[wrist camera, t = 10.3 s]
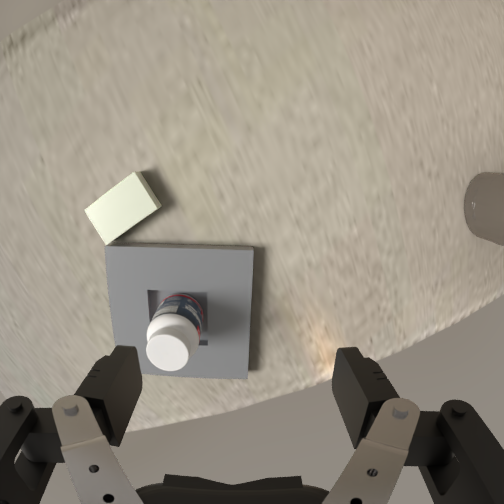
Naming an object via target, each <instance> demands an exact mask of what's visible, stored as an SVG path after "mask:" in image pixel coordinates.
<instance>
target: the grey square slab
mask: <svg viewBox="0 0 504 504" xmlns="http://www.w3.org/2000/svg"><path fill="white" fill-rule="evenodd" d="M253 255H254V250H253V246H222V245H187V244H149V243H109V244H108V245H106V246H105V260H106V273H107V284H108V294H109V303H110V311H111V319H112V326H113V333H114V340H115V346H117V345H125V346H135V347H136V349H137V352H138V358H139V364H140V369H141V374H150V375H162V376H176V377H193V378H217V379H248V359H249V339H250V318H251V297H252V276H253ZM177 293H181V294H186V295H189V296H191V297H193V298H194V299H195V300H196V301H197V302H198V303H199V304H200V306H201V308H202V310H203V316H204V317H203V324H202V329H201V335H200V341H199V345H198V348H197V350H196V352H195V353H194V355H193V356H191V357H190V358H189V359H188V362H187V364H186V365H185V366H184V367H183V368H181V369H179V370H176V371H165V370H162V369H159V368H158V367H156V366H155V365H153V364H152V363H151V361H150V360H149V358H148V356H147V353H146V347H147V343H148V341H147V329H148V326H149V324H150V322H151V320H152V318H153V316H154V314H155V312H156V311H157V309H158V307H159V305H160V303H161V302H162V301H163V300H164V299H165V298H166V297H167V296H169V295H172V294H177Z"/></svg>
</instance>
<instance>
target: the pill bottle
mask: <svg viewBox="0 0 504 504" xmlns="http://www.w3.org/2000/svg"><path fill="white" fill-rule="evenodd" d="M203 317H204V316H203V310H202V308H201V306H200V304H199V303H198V302H197V301H196V300H195V299H194V298H193V297H191V296H189V295H186V294H181V293H177V294H172V295H169V296H167V297H166V298H165V299H164V300H163V301H162V302H161V303H160V305H159V307H158V309H157V311H156V312H155V314H154V316H153V318H152V320H151V322H150V324H149V326H148V329H147V341H148V343H147V347H146V353H147V356H148V358H149V360H150V361H151V363H152V364H153V365H155V366H156V367H158V368H159V369H162V370H165V371H176V370H179V369H181V368H183V367H184V366H185V365H186V364H187V362H188V359H189V358H190V357H191V356H193V355H194V353H195V352H196V350H197V348H198V345H199V341H200V335H201V329H202V324H203Z"/></svg>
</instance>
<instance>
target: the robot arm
mask: <svg viewBox="0 0 504 504" xmlns="http://www.w3.org/2000/svg"><path fill="white" fill-rule="evenodd" d="M464 211H465V218H466V222H467V224H468V227H469V229H470V230H471V231H472V233H473V234H475V235H476V236H478V237H480V238H483V239H486V240H488V241H491V242H494V243H496V244H499V245H502V246H504V174H499V173H489V172H485V173H481V174H478V175H477V176H476V177H475V178H474V179H473V180H472V181H471V183H470V185H469V187H468V189H467V192H466V196H465V204H464ZM141 391H142V375H141V369H140V364H139V358H138V352H137V349H136V347H135V346H125V345H117V346H116V347H115V349H114V350H113V352H112V353H111V355H110V356H106V355H105V356H104V357H102V358H101V359H99V360H98V361H96V363H95V364H94V366H93V367H92V369H91V370H90V372H89V373H88V375H87V376H86V378H85V379H84V380H83V382H82V383H81V385H80V386H79V388H78V389H77V391H76V392H75V394H74V395H69V396H65V397H62V398H60V399H58V400H57V401H56V402H55V403H54V404H53V407H52V408H34V406H33V404H32V401H31V400H30V399H29V398H27V397H24V396H14V397H11V398H9V399H7V400H6V401H4V402H3V404H2V405H1V406H0V504H39V503H40V501H41V498H42V496H43V494H44V491H45V489H46V486H47V484H48V481H49V479H50V477H51V475H52V472H53V469H54V468H55V465H56V463H66V466H67V469H68V471H69V474H70V477H71V480H72V482H73V485H74V487H75V490H76V492H77V495H78V497H79V499H80V502H81V504H387V503H388V501H389V499H390V496H391V494H392V492H393V490H394V487H395V485H396V483H397V480H398V478H399V475H400V473H401V470H402V468H403V466H418V467H419V469H420V472H421V474H422V476H423V479H424V481H425V483H426V485H427V488H428V490H429V493H430V495H431V497H432V499H433V502H434V504H504V449H503V448H502V447H501V445H500V444H499V442H498V441H497V440H496V438H495V437H494V435H493V434H492V433H491V431H490V430H489V428H488V427H487V426H486V424H485V423H484V422H483V420H482V419H481V418H480V416H479V415H478V413H477V412H476V411H475V410H474V408H473V407H472V406H471V405H470V404H468V403H467V402H464V401H461V400H449V401H447V402H445V403H444V404H443V405H442V407H441V410H440V412H435V411H420V410H419V407H418V406H417V405H416V404H415V403H414V402H412V401H410V400H408V399H404V398H400V397H399V395H398V394H397V392H396V391H395V389H394V387H393V386H392V384H391V383H390V381H389V380H388V379H387V377H386V375H385V374H384V373H383V371H382V369H381V368H380V366H379V364H378V363H376V362H375V361H373V360H372V359H370V358H369V357H368V358H364V357H363V356H362V354H361V353H360V351H359V349H358V348H357V347H346V348H338V350H337V353H336V359H335V365H334V371H333V377H332V391H333V394H334V397H335V400H336V402H337V405H338V407H339V410H340V413H341V415H342V418H343V420H344V423H345V426H346V428H347V431H348V433H349V436H350V438H351V441H352V444H353V447H354V449H356V451H355V452H354V454H353V456H352V457H351V459H350V461H349V462H348V464H347V466H346V467H345V469H344V471H343V472H342V474H341V475H340V477H339V479H338V480H337V482H336V483H335V485H334V486H333V488H332V489H331V491H330V492H329V491H327V490H324V489H322V488H318V487H314V486H309V485H302V479H301V476H294V477H277V478H265V479H261V480H256V481H251V482H247V483H242V484H236V485H229V484H224V483H220V482H215V481H211V480H207V479H203V478H200V477H189V476H178V475H169V474H165V476H164V481H163V483H157V484H151V485H148V486H144V487H141V488H139V489H136V490H135V489H134V488H133V486H132V484H131V483H130V481H129V479H128V478H127V476H126V474H125V472H124V471H123V469H122V467H121V465H120V464H119V462H118V460H117V458H116V456H115V455H114V452H113V451H112V449H111V447H110V445H112V446H117V447H119V446H120V444H121V441H122V439H123V436H124V433H125V431H126V428H127V426H128V423H129V421H130V418H131V416H132V413H133V411H134V408H135V406H136V403H137V401H138V398H139V396H140V394H141ZM20 449H21V450H22V451H21V453H20V455H19V457H18V459H17V460H16V462H15V464H14V461H15V457H16V455H17V453H18V452H19V450H20ZM455 456H456V457H455ZM456 458H457V459H456Z"/></svg>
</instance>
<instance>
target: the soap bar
mask: <svg viewBox="0 0 504 504" xmlns="http://www.w3.org/2000/svg"><path fill="white" fill-rule="evenodd" d="M160 207H162V205H161V204H160V202H159V201H158V199H157V198H156V196H155V194H154V193H153V191H152V190H151V188H150V187H149V185H148V183H147V182H146V180H145V179H144V177H143V175H142V174H141V172H133V173H132V174H131V175H129V176H128V177H127V178H125V179H124V180H122V181H121V182H120V183H118V184H117V185H116V186H115V187H113V188H112V189H111V190H109V191H108V192H107V193H105V194H104V195H103V196H102V197H100V198H99V199H98V200H97V201H95V202H94V203H93V204H92V205H90V206H89V207H88V208H87V209H85V210H84V211H85V212H86V214H87V216H88V217H89V219H90V220H91V222H92V224H93V225H94V227H95V228H96V230H97V232H98V233H99V235H100V236H101V238H102V239H103V241H104V242H105V244H106V245H108V244H109V243H111V242H112V241H114V240H115V239H116V238H118V237H119V236H121V235H122V234H123V233H125V232H126V231H127V230H129V229H130V228H132V227H133V226H134V225H136V224H137V223H139V222H140V221H141V220H143V219H144V218H146V217H147V216H149V215H150V214H152V213H153V212H154V211H156V210H157V209H159V208H160Z"/></svg>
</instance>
